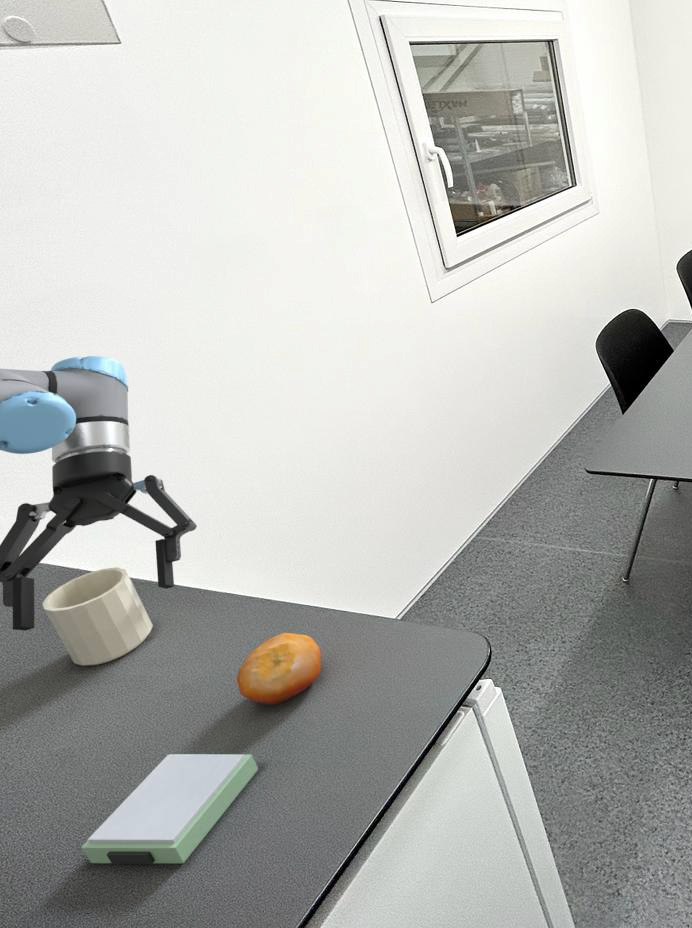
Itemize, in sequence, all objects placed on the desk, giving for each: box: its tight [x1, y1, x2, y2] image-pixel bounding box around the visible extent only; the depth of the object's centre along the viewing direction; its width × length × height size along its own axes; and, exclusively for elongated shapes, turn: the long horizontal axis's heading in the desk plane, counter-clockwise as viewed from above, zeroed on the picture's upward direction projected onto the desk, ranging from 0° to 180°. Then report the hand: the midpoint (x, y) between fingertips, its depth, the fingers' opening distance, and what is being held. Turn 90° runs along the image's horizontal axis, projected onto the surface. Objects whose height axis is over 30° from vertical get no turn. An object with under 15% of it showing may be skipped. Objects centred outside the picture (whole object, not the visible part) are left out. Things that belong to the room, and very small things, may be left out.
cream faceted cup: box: [41, 567, 154, 666], centre depth 84 cm, size 8×8×10 cm
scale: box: [81, 753, 259, 865], centre depth 65 cm, size 9×10×3 cm
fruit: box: [236, 632, 322, 706], centre depth 79 cm, size 8×8×8 cm
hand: (97, 607), depth 84 cm, fingers open, 13 cm apart
